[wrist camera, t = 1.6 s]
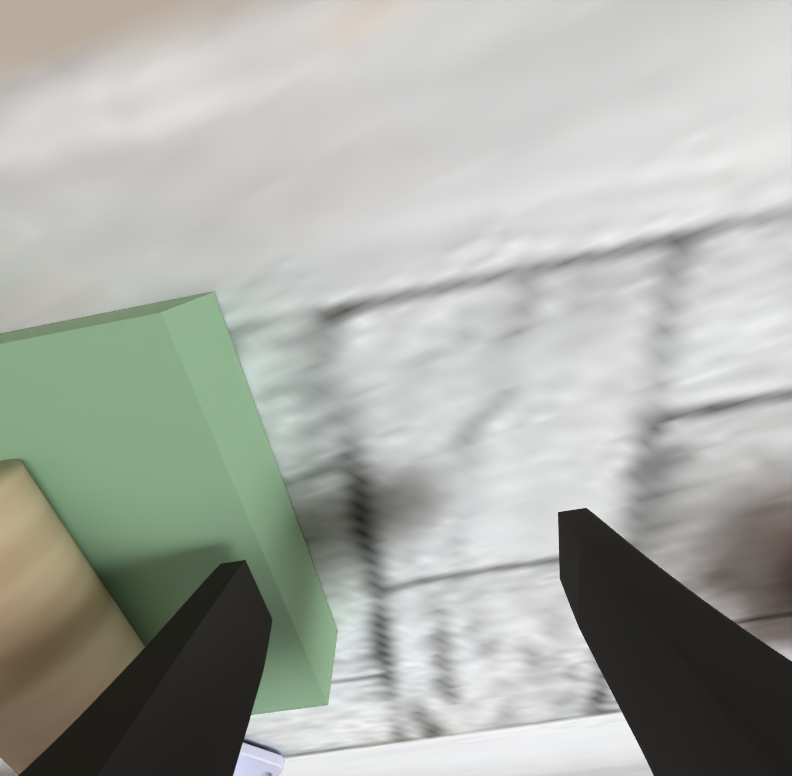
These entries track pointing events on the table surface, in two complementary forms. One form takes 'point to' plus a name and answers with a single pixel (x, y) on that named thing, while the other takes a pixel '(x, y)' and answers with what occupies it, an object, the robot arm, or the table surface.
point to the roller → (49, 624)
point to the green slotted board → (166, 474)
